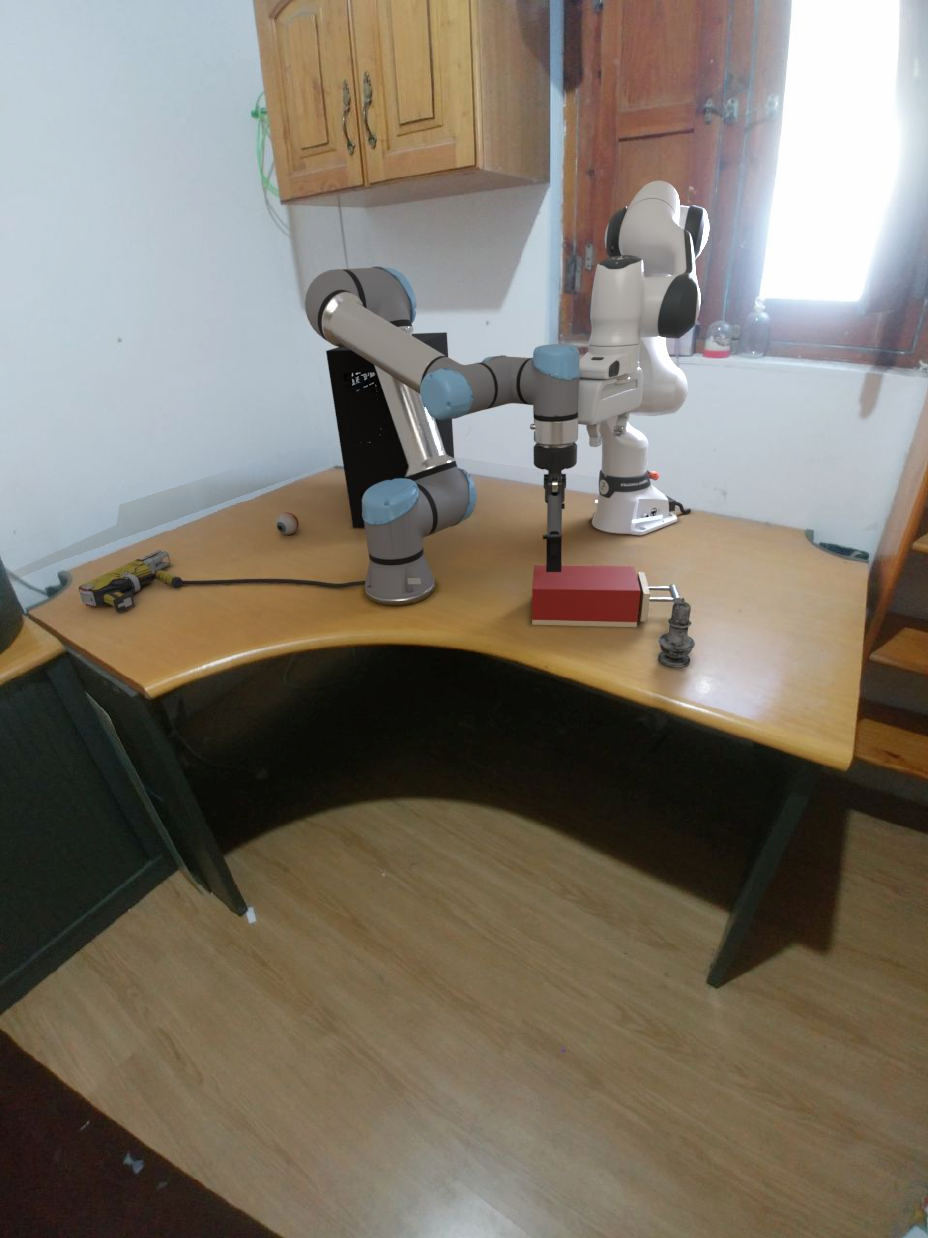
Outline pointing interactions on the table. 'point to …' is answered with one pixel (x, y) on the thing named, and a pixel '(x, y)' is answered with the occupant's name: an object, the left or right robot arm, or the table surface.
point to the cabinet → (586, 596)
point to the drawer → (646, 597)
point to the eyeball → (287, 523)
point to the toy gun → (127, 582)
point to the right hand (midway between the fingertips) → (607, 440)
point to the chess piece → (677, 637)
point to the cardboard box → (371, 423)
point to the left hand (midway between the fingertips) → (553, 556)
